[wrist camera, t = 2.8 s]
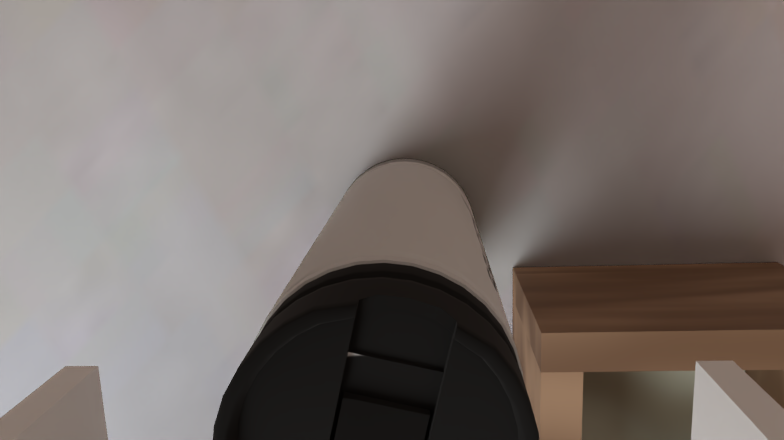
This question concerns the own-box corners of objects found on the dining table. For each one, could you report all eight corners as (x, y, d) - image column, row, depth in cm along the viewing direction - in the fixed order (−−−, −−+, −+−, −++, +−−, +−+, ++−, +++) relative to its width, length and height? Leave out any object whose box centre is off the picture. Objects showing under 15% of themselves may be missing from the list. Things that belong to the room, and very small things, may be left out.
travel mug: (325, 280, 32) (173, 606, 13) (352, 144, 31) (225, 280, 11) (454, 308, 32) (498, 675, 13) (487, 173, 31) (593, 358, 11)
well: (512, 267, 32) (541, 332, 24) (777, 262, 31) (895, 327, 23) (512, 495, 34) (537, 621, 26) (755, 494, 34) (855, 623, 26)
